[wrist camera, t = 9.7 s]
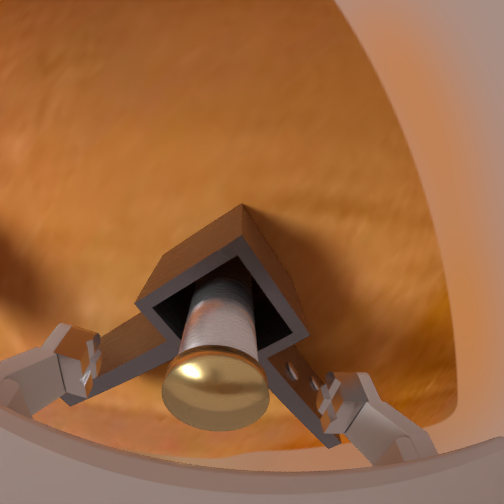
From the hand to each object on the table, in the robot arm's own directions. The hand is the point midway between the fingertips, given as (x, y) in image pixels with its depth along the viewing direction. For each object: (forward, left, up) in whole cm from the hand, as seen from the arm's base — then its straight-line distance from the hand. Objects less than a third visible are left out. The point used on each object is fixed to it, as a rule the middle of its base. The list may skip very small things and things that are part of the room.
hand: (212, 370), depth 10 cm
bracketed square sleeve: (+5, -5, -10) cm, 12 cm away
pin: (0, 0, -10) cm, 10 cm away
